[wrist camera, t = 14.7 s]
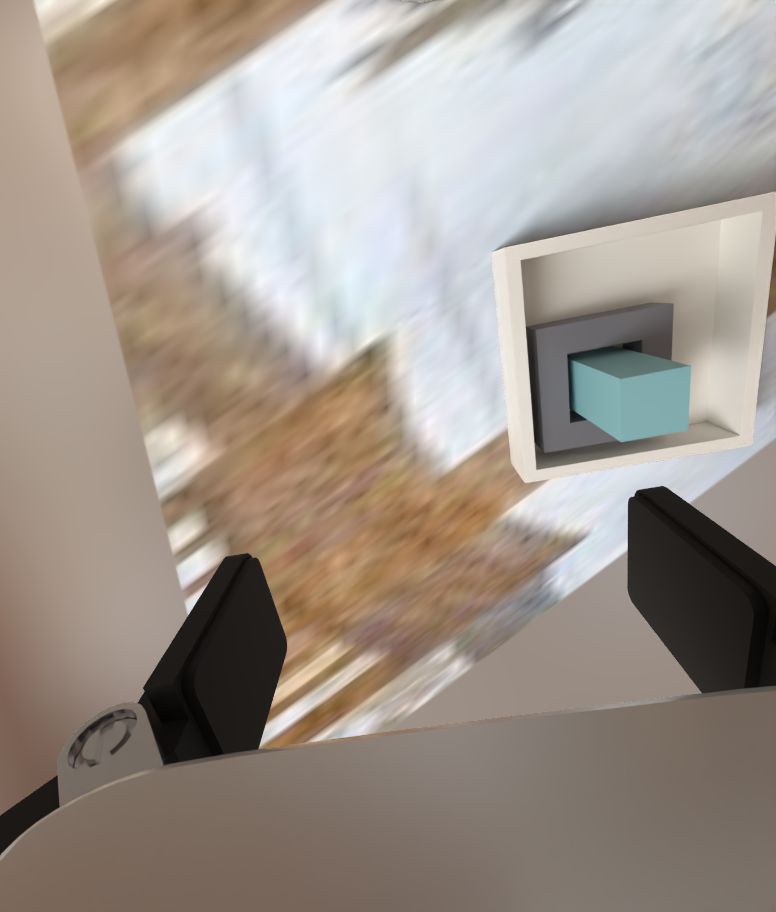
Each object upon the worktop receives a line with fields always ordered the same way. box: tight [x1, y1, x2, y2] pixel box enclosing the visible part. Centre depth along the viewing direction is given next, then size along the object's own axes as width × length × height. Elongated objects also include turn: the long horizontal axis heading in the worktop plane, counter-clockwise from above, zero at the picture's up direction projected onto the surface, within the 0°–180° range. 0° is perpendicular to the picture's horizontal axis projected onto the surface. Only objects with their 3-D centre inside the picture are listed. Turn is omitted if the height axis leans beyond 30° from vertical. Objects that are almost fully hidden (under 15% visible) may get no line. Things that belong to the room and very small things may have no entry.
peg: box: [567, 346, 691, 442], centre depth 32 cm, size 4×4×10 cm
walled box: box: [491, 191, 776, 483], centre depth 34 cm, size 18×18×4 cm
